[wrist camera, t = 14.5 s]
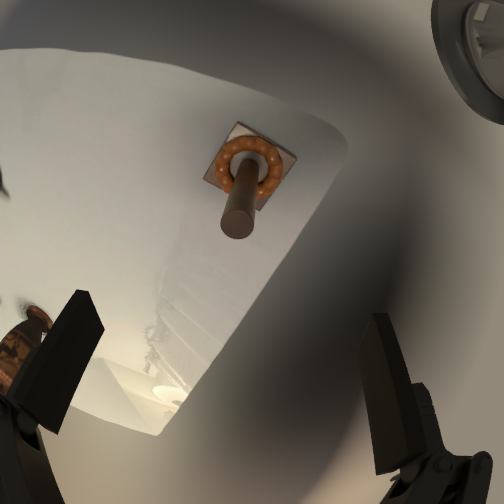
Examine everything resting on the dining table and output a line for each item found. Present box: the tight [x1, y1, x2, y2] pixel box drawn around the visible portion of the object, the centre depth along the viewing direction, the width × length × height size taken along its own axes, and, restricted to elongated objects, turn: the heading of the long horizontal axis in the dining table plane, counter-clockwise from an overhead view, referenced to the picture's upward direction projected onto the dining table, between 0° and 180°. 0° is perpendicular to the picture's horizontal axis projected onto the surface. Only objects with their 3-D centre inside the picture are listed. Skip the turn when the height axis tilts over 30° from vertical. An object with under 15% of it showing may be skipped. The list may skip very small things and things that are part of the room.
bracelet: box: [215, 136, 283, 201], centre depth 31 cm, size 8×8×2 cm
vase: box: [0, 306, 52, 396], centre depth 41 cm, size 11×11×30 cm
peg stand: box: [203, 122, 297, 239], centre depth 27 cm, size 8×8×15 cm
